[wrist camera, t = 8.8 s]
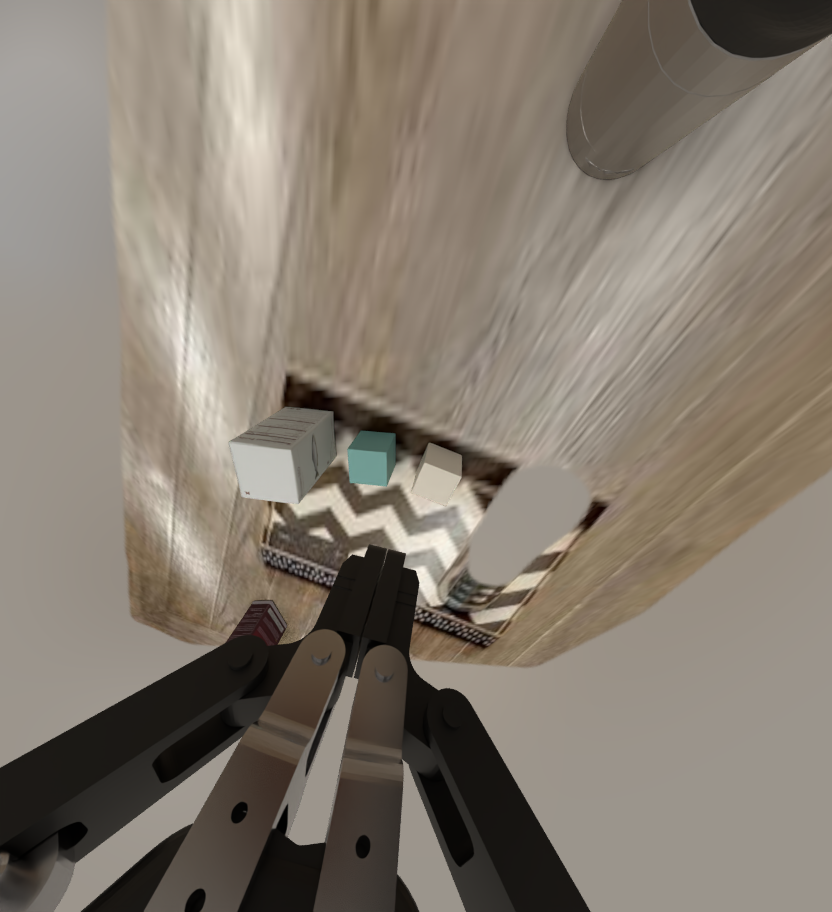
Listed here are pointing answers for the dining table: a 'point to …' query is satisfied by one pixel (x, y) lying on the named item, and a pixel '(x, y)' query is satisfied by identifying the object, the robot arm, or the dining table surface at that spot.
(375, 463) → the teal block
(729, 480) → the dining table surface
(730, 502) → the dining table surface
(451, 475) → the cream block
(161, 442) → the dining table surface
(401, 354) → the dining table surface
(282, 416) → the supplement box
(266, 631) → the supplement box
